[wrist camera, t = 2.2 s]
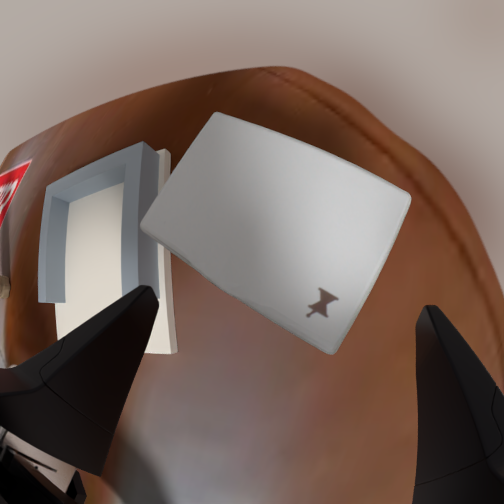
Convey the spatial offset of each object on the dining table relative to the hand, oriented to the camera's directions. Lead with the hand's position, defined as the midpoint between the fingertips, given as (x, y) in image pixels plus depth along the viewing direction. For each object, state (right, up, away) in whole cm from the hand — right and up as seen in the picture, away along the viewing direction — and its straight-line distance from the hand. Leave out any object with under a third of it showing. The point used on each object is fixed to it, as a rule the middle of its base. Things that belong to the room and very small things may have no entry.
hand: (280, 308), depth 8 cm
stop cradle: (-14, +1, +14) cm, 19 cm away
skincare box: (+2, +1, +10) cm, 10 cm away
